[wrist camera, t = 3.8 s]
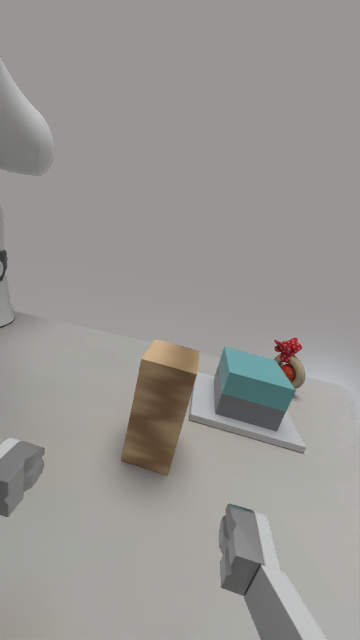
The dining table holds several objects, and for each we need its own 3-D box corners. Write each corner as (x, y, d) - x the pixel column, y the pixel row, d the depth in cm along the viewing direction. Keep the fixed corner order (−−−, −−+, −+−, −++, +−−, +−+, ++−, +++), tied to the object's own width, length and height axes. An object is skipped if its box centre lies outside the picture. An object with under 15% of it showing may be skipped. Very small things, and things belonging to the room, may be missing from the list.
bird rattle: (291, 397, 46) (266, 362, 52) (332, 367, 40) (299, 332, 45) (273, 401, 43) (248, 364, 49) (315, 370, 37) (281, 331, 42)
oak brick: (121, 460, 22) (141, 358, 19) (136, 425, 27) (155, 339, 23) (167, 475, 22) (197, 374, 18) (174, 436, 26) (199, 350, 23)
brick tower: (189, 419, 30) (203, 370, 27) (194, 375, 41) (205, 338, 39) (303, 453, 29) (328, 404, 27) (276, 398, 40) (292, 361, 38)
